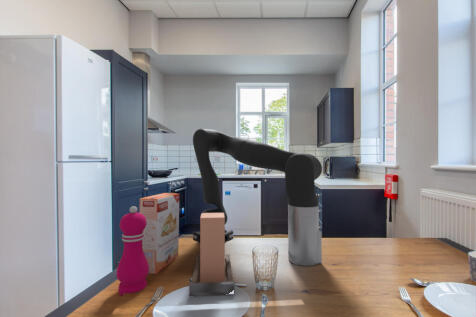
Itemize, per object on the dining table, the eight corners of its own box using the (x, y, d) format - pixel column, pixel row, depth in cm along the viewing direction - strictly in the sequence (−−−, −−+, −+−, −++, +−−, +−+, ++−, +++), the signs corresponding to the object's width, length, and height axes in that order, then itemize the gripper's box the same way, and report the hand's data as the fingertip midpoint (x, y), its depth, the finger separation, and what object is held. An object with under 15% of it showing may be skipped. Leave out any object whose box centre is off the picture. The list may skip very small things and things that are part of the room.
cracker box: (157, 277, 68) (158, 198, 68) (137, 275, 69) (137, 198, 69) (180, 257, 81) (180, 192, 82) (162, 256, 83) (162, 192, 83)
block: (223, 271, 69) (223, 212, 69) (224, 281, 63) (224, 217, 63) (201, 272, 69) (201, 213, 69) (200, 283, 63) (200, 217, 63)
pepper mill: (155, 285, 63) (155, 204, 64) (134, 300, 56) (134, 209, 57) (131, 280, 66) (132, 203, 66) (109, 294, 59) (109, 207, 59)
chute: (229, 260, 79) (229, 250, 79) (234, 298, 57) (234, 283, 57) (196, 261, 78) (196, 251, 78) (189, 300, 56) (189, 285, 56)
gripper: (193, 217, 86) (188, 231, 69) (233, 216, 87) (237, 230, 70) (193, 239, 86) (188, 259, 68) (233, 238, 87) (237, 257, 70)
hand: (212, 244), depth 69 cm, fingers closed
